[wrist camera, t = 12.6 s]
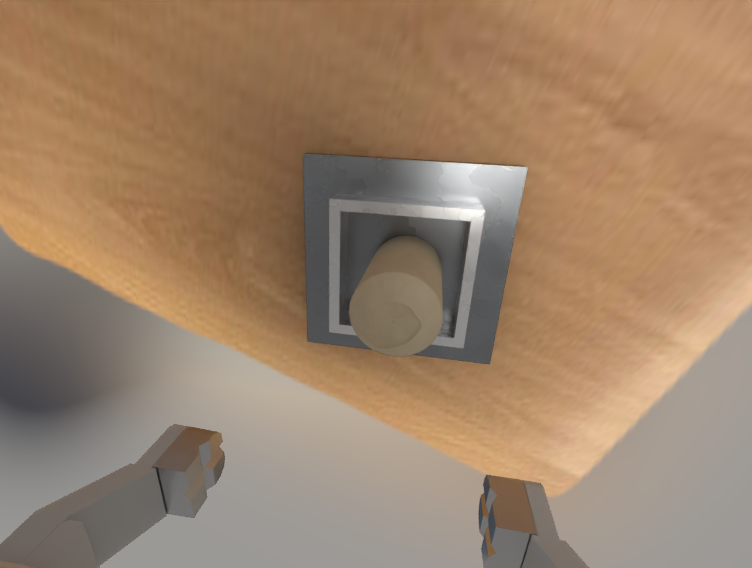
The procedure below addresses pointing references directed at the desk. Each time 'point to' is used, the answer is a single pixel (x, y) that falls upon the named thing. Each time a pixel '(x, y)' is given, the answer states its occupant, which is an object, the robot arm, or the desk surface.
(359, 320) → the candle
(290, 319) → the desk surface
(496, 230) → the candle stand
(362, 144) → the desk surface
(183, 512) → the robot arm
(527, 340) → the desk surface
